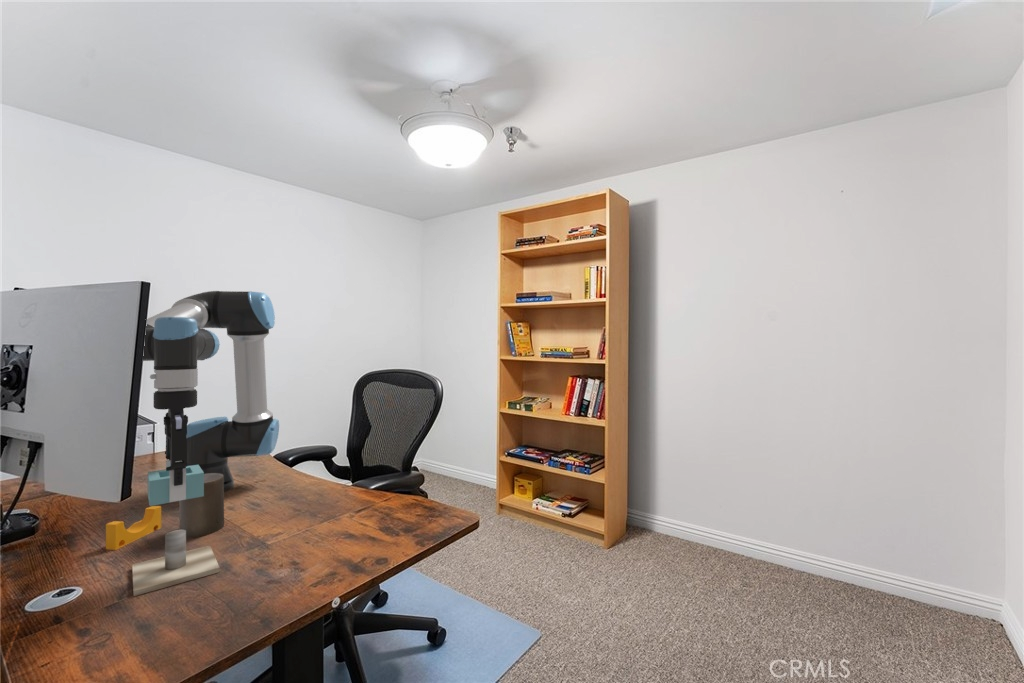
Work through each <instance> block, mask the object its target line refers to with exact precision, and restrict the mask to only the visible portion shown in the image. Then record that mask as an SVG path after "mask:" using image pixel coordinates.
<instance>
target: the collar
mask: <svg viewBox="0 0 1024 683" xmlns="http://www.w3.org/2000/svg"><path fill="white" fill-rule="evenodd" d="M202 496H204V472H203V471H202V469H201V468H200V466H199V465H192V466H187V467H186V499H192V498H197V497H202ZM147 498H148V505H149V507H151V506H160V505H164V504H168V503H171V502H169V471H166V468H165V469H159V470H151V471H147ZM186 499H185V500H186ZM180 501H181V500H180ZM174 502H176V501H174ZM174 502H173V503H174Z"/></svg>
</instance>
